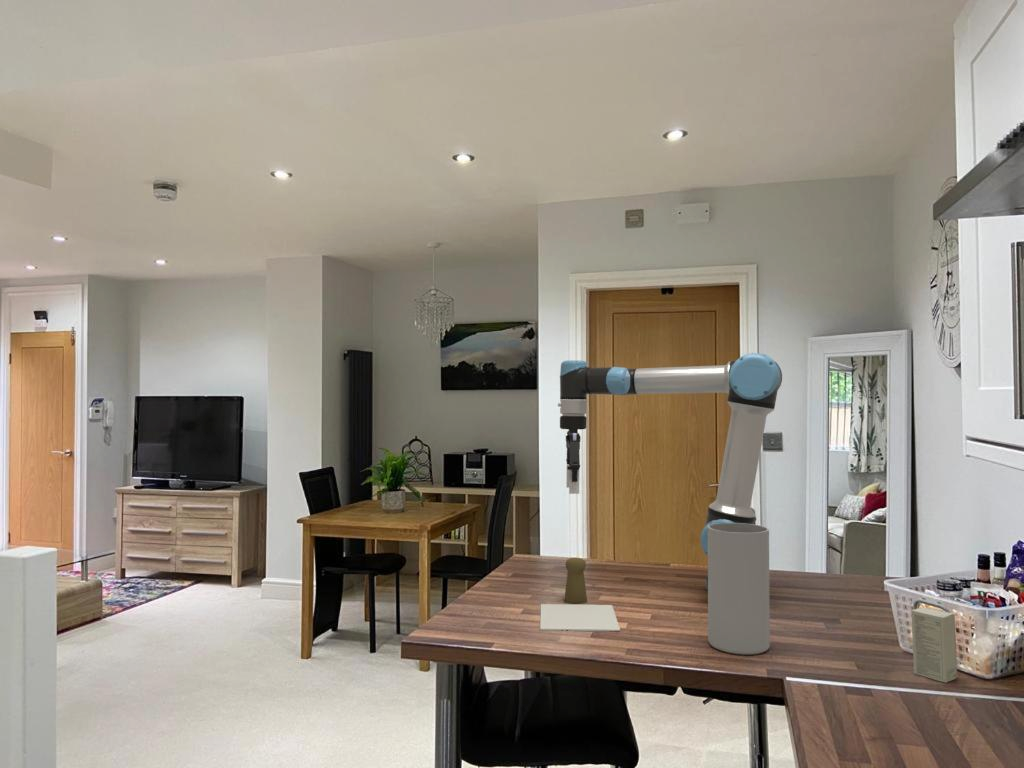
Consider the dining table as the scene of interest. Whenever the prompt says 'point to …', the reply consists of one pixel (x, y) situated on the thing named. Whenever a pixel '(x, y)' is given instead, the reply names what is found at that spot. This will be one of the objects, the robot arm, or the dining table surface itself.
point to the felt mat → (578, 618)
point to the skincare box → (934, 644)
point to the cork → (575, 581)
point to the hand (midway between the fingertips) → (572, 490)
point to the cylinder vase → (738, 588)
